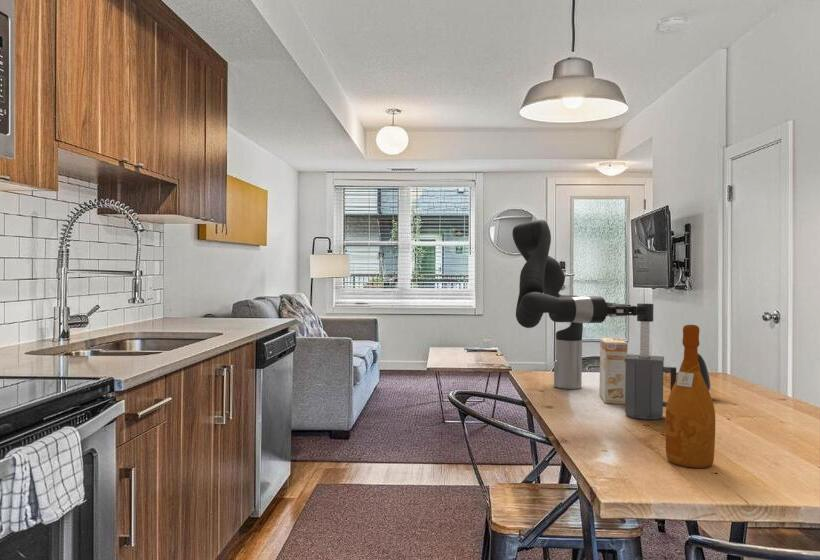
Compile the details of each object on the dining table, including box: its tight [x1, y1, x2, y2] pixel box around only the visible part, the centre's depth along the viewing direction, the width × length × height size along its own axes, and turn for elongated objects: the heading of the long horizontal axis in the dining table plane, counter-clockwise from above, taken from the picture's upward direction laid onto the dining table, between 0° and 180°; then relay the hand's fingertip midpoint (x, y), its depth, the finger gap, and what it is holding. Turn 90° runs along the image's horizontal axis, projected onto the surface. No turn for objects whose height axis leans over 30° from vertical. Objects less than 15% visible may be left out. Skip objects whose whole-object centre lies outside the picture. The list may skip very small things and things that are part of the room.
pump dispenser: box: [677, 353, 711, 391], centre depth 201 cm, size 10×10×15 cm
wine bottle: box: [664, 324, 716, 469], centre depth 131 cm, size 10×10×30 cm
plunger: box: [636, 302, 655, 358], centre depth 174 cm, size 8×8×23 cm
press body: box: [624, 353, 677, 421], centre depth 173 cm, size 13×10×17 cm
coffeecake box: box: [598, 337, 629, 405], centre depth 198 cm, size 15×7×20 cm, turn 168°
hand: (638, 309), depth 174 cm, fingers open, 8 cm apart
